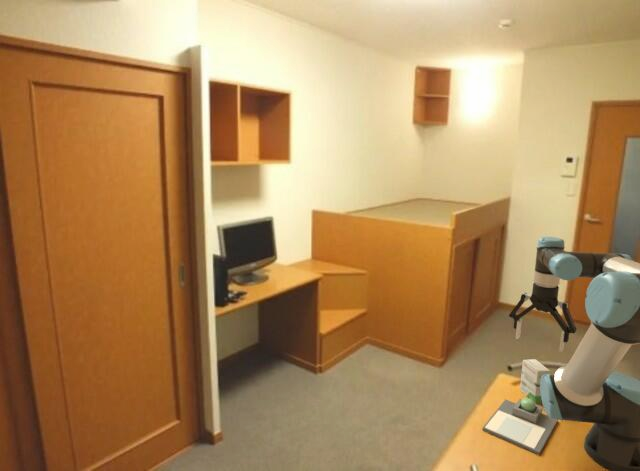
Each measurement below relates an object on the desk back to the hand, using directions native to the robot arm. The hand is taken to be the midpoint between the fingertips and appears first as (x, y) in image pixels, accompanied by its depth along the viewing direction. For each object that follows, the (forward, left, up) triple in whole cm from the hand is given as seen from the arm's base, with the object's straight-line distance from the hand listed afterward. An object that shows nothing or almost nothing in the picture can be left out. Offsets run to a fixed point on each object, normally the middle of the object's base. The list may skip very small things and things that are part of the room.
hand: (538, 344), depth 144 cm
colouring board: (-2, +20, -19) cm, 28 cm away
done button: (-2, +14, -17) cm, 22 cm away
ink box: (0, 0, -20) cm, 20 cm away
